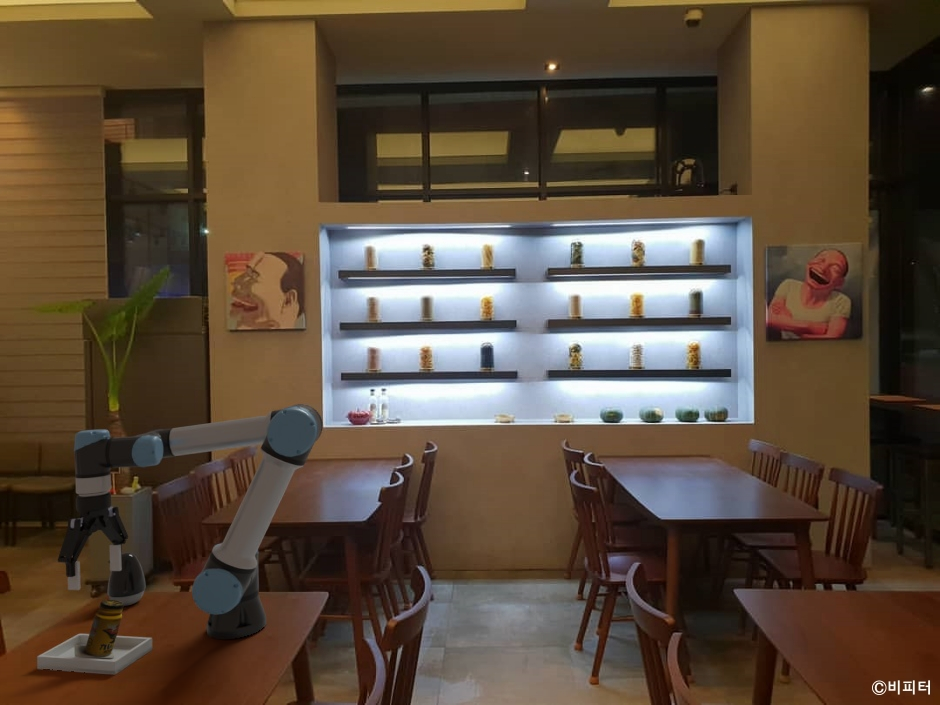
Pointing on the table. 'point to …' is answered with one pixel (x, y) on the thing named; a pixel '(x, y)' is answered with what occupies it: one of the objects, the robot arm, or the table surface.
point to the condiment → (102, 631)
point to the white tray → (65, 659)
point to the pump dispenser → (127, 581)
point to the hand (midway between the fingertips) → (95, 579)
